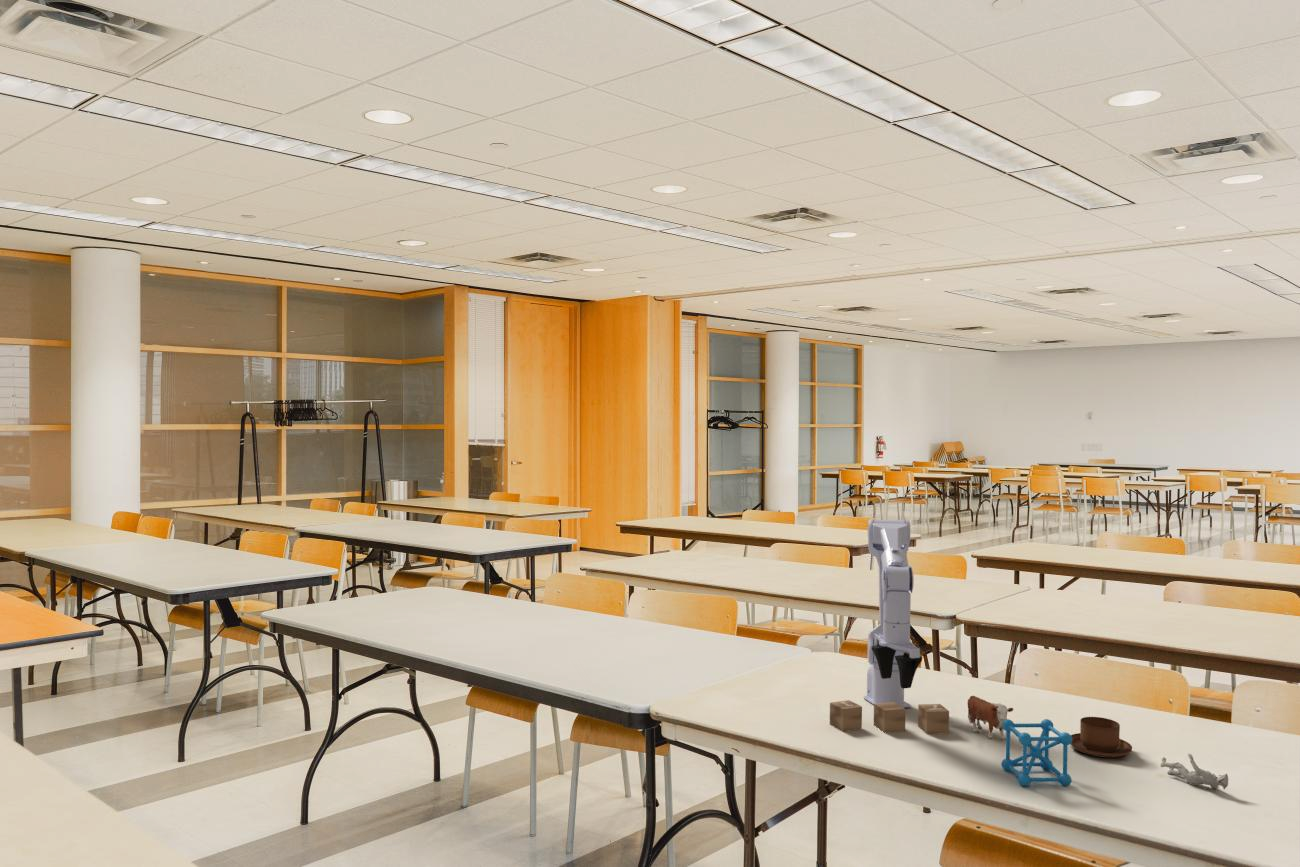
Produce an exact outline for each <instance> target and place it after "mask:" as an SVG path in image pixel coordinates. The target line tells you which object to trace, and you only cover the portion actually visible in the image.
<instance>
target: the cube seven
mask: <svg viewBox="0 0 1300 867" xmlns="http://www.w3.org/2000/svg"><path fill="white" fill-rule="evenodd" d="M917 706H918V707H917V727H918V728H919V729H920V730H921V729H922V731H923V733H925V734H926V735H940V734H939V733H949V734H950V710H948V709H947V708H946V707H945V706H943V705H942V704H941V703H928V704H927V703H926V704H925V703H924V704H923V703H922V704H918V705H917Z"/></svg>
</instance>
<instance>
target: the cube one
mask: <svg viewBox="0 0 1300 867" xmlns="http://www.w3.org/2000/svg"><path fill="white" fill-rule="evenodd" d="M829 725H830V726H831V727H833V726H834V727H833V728H835V729H837V730H839V731H841V732H848V731H847V730H850V731H854V729H857V730H862V729H861V728H863V727H862V725H863V706H862V705H860V704H857V703H855V702H854V701H851V700H849V699H848V700H839V701H832V702H829Z"/></svg>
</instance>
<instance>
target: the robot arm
mask: <svg viewBox="0 0 1300 867" xmlns="http://www.w3.org/2000/svg"><path fill="white" fill-rule="evenodd" d="M910 543H911V523H910V521H909V520H908V519H904V520H903V519H873V518H870V519H869V520H868V522H867V550H868V552H869V553H868V554H870V555H872V556H873V557H875V559H876V562H877V565H878V604H879V606H878V607H879V608H878V609H879V612H878V613H879V614H878V615H879V624H878V625H876V626H875V627H874V628H872V629H870V631H869V633H868V635H867V639H868V640H867V663H869V665H870V666H869V667H868V669H867V672H866V695H863V697H862V698H864V699H865V701H868V702H869V703H870V704H872V705H873V706H874V703H888V702H895V703H897V704H898V705H900V706H902V707H903V708H905V709H906V708H912V705H911V704H910V703H908V702H906V701H905V689H911V687H912V684H913V681H914V677H915V674H916V672H917V670H918V667H919V666H920V664H921V662H922V661H923V657H922V656H921V649H920V648H919V647H917V646H916V645H915V644H914V643H912V641H911V602H912V601H911V599H912V597H911V594H913V589H914V584H915V583H914V581H915V580H914V571H913V567H912V565H909V561H908V555H907V554H908V551H909V547H910Z"/></svg>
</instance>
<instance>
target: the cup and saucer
mask: <svg viewBox="0 0 1300 867" xmlns="http://www.w3.org/2000/svg"><path fill="white" fill-rule="evenodd" d="M1079 725H1080V732H1079V733H1073V734H1070V735H1071V737H1072V743H1071V744H1070V745H1069V746H1071V747H1072V748H1074V749H1075V750H1077V751H1079V752H1081V753H1083V754H1085V755H1088V756H1093V757H1099V758H1100V757H1101V758H1111V759H1112V758H1121V757H1125V756H1127V755H1129V754H1130V753H1131V752H1132V750H1133V746H1132V745H1131V743H1129V742H1128V741H1126V740H1124V739H1122V738H1120V728H1121V727H1120V726H1121V725H1120V723H1119V722H1117V721H1115V720H1113V719H1111V718H1106V717H1098V716H1084V717H1082V718H1081V719H1080V724H1079Z"/></svg>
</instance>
